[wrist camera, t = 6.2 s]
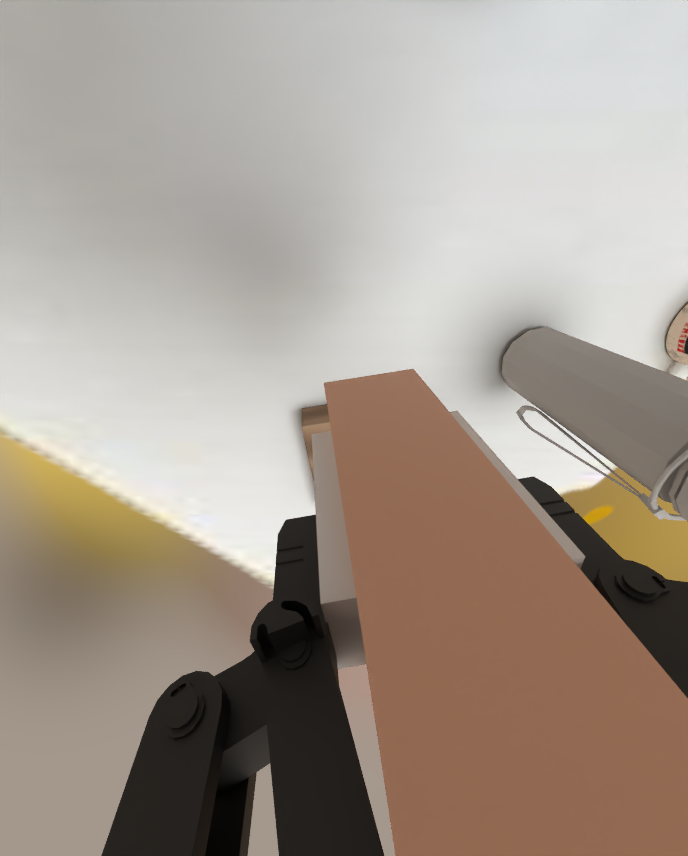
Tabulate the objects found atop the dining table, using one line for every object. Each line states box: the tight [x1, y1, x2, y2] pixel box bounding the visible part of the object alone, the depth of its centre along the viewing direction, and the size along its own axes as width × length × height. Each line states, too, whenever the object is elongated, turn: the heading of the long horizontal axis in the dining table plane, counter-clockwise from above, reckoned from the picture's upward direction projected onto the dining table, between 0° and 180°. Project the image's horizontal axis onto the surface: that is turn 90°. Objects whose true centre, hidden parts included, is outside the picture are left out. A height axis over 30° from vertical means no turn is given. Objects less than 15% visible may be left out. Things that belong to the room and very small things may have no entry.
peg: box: [324, 369, 688, 856], centre depth 10 cm, size 4×4×14 cm
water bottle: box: [502, 327, 688, 521], centre depth 26 cm, size 9×8×25 cm
